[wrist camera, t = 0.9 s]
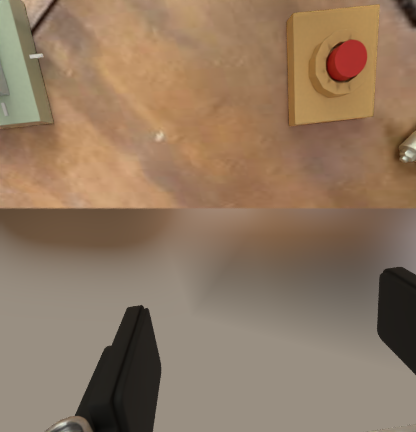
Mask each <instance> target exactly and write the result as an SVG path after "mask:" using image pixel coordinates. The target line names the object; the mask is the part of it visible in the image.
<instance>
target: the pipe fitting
mask: <svg viewBox="0 0 416 432" xmlns="http://www.w3.org/2000/svg"><path fill="white" fill-rule="evenodd" d="M399 150H400V153H399V154H400V158H399V159H400V161H402V162H404V163H406V162H413V161H416V130H415V131H414V132H413V133H412V134H411V135H410V136H409V137H408V138H407V139H406V140H405V141H404V142H403V143H402V144H401V145H400V146H399Z"/></svg>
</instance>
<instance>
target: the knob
mask: <svg viewBox="0 0 416 432" xmlns="http://www.w3.org/2000/svg"><path fill="white" fill-rule="evenodd" d="M5 95H10V93H9V90H8V86H7V83H6V79H5V76H4V72H3V69H2V65H1V62H0V96H5Z"/></svg>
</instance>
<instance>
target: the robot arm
mask: <svg viewBox="0 0 416 432" xmlns="http://www.w3.org/2000/svg"><path fill="white" fill-rule="evenodd" d="M377 323H378V324H377V332H378V335H379V337H380V338H381V340H382V341H383V342H384V343H385V344H386V345H387V346H388V347H389V348H390V349H391V350H392V351H393V352H394V353H395V354H396V355H397V356H398V357H399V358H400V359H401V360H402V361H403V362H404V363H405V364H406V365H407V366H408V367H409V368H410V369H411V370H412V372H413V373H415V375H416V275H415V274H413V273H412V272H410V271H408V270H406V269H405V268H403V267H396V268H388V269H385V270H384V271H383V273H382V274H381V275H380V279H379V301H378V322H377ZM160 378H161V362H160V357H159V353H158V348H157V345H156V340H155V335H154V331H153V326H152V322H151V317H150V313H149V309H148V308H145V309H144V307H143V306H142V305H140V306H133V307H128V308H127V309H126V312H125V314H124V317H123V319H122V322H121V324H120V326H119V329H118V331H117V334H116V336H115V339H114V341H113V343H112V346H107V347H106V348H105V349H104V351H103V353H102V355H101V358H100V360H99V362H98V364H97V367H96V369H95V371H94V373H93V376H92V378H91V380H90V382H89V385H88V387H87V389H86V391H85V394H84V396H83V398H82V401H81V403H80V405H79V407H78V410H77V412H76V414H75V416H72V417H68V418H65V419H62V420H60V421H58V422H57V423H55V424H53V425H52V426H51V427H50V428H48V429H47V430H46V431H45V432H153V426H154V419H155V412H156V405H157V398H158V391H159V384H160ZM369 432H416V424H414V425H407V426H401V427H395V428H388V429H382V430H375V431H369Z"/></svg>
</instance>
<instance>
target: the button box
mask: <svg viewBox="0 0 416 432" xmlns="http://www.w3.org/2000/svg"><path fill="white" fill-rule="evenodd" d="M379 7H380V5H379V4H378V5H368V6H358V7H348V8H338V9H328V10H318V11H309V12H299V13H293V14H292V15H291V17H290V18H289V19H288V21H287V62H288V103H289V126H297V125H306V124H315V123H324V122H333V121H342V120H351V119H360V118H367V117H372V116H373V112H374V95H375V77H376V60H377V42H378V24H379ZM348 40H358V41H360V42H361V43H363V44H364V46H365V48H366V50H367V62H366V65H365V67H364V68H363V70H362V71H361V72H360V73H359V74H357V75H356V76H354V77H351V78H349V79H347V80H344V81H338V80H335V79H333V78H332V77H331V76H330V75H329V73H328V70H327V61H328V58H329V55H330V54H331V52H332V51H333V50H334V49H335V48H337V47H338V46H340V45H341V44H342V43H344V42H346V41H348Z"/></svg>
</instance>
